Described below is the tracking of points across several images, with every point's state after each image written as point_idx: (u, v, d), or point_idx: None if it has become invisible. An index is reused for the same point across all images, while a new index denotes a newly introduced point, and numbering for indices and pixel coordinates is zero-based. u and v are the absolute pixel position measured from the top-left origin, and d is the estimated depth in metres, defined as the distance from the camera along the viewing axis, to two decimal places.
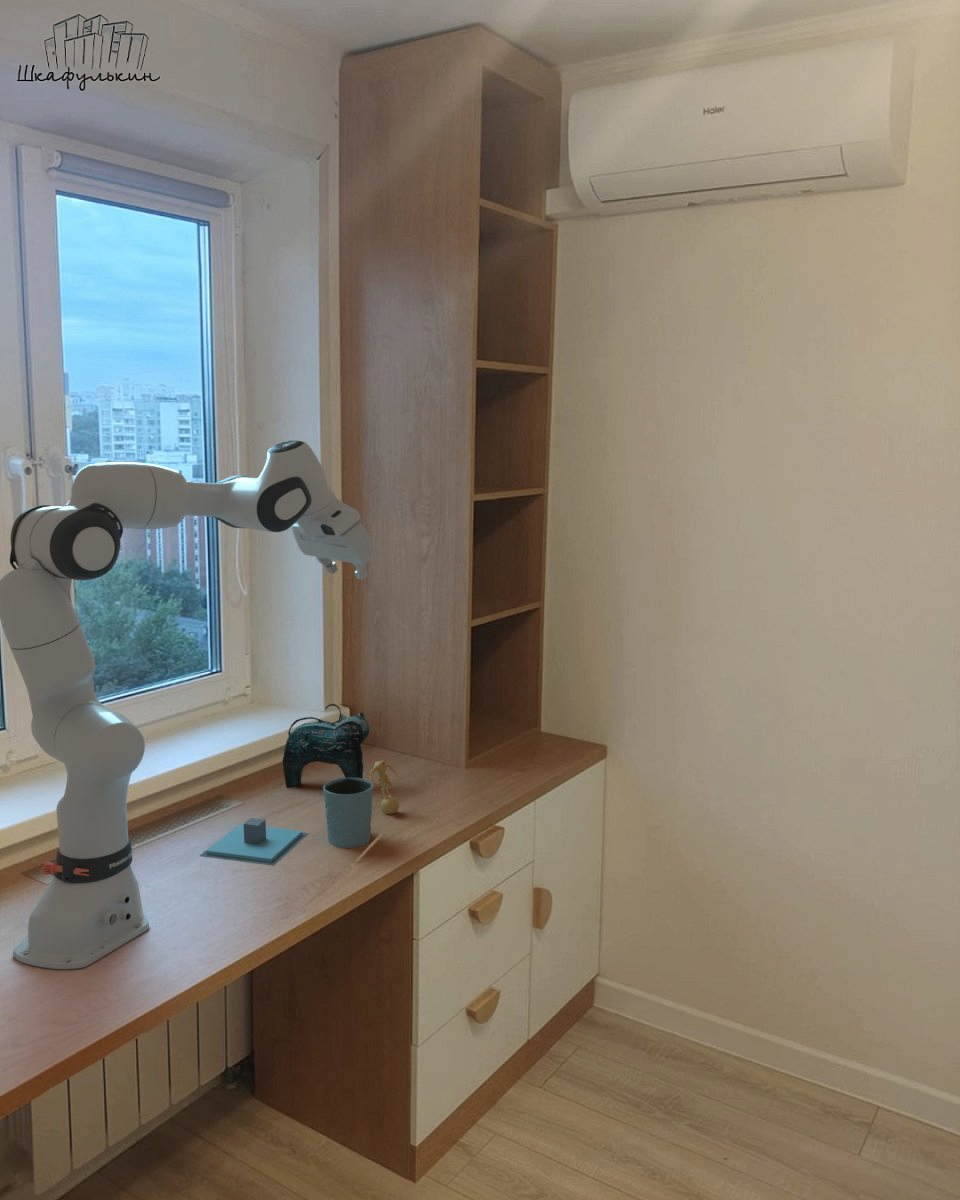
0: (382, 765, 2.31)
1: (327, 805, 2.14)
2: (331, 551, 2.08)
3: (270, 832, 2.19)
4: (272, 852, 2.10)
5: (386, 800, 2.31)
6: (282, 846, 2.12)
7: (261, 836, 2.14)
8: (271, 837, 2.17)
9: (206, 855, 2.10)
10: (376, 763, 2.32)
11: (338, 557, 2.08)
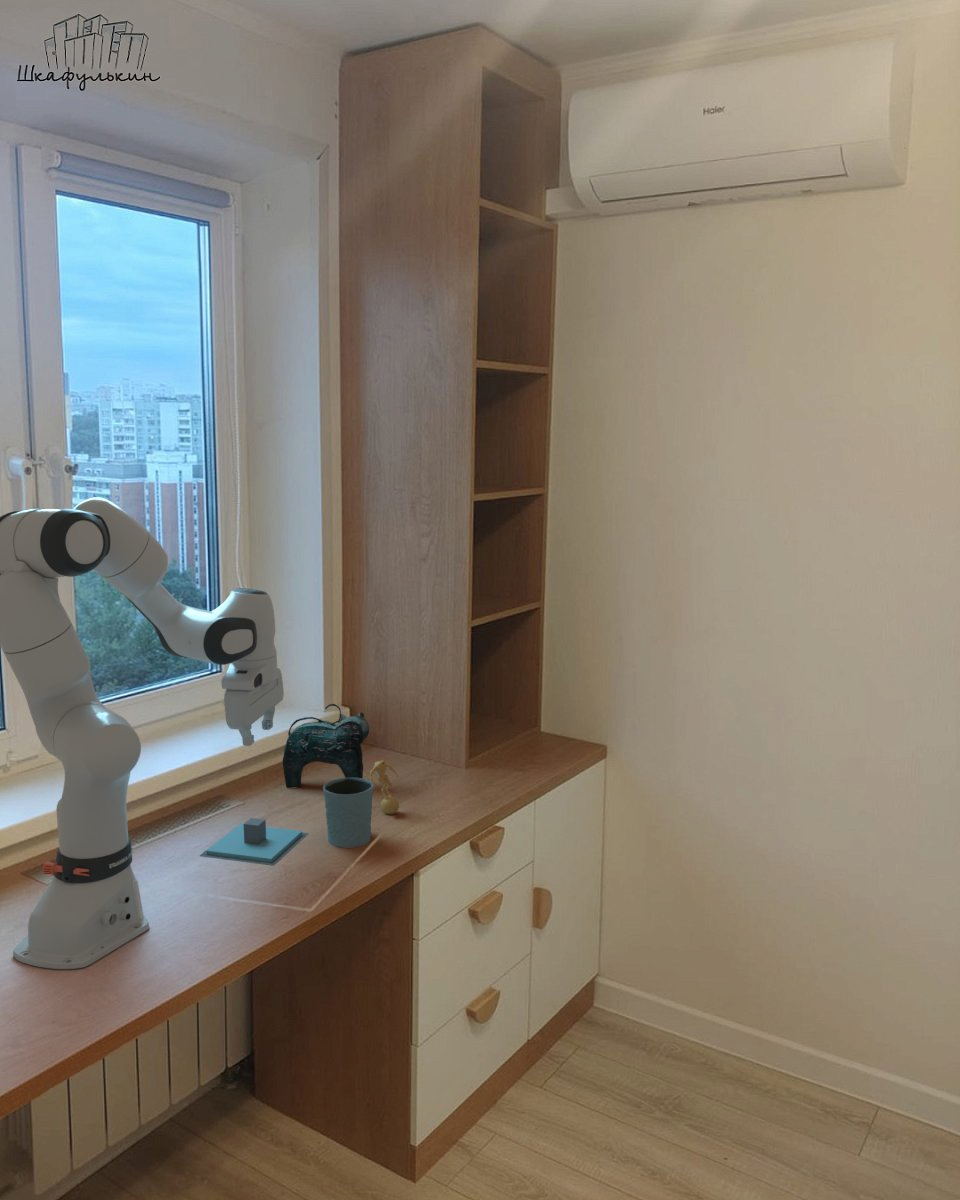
0: (382, 765, 2.31)
1: (327, 805, 2.14)
2: None
3: (270, 832, 2.19)
4: (272, 852, 2.10)
5: (386, 800, 2.31)
6: (282, 846, 2.12)
7: (261, 836, 2.14)
8: (271, 837, 2.17)
9: (206, 855, 2.10)
10: (376, 763, 2.32)
11: None
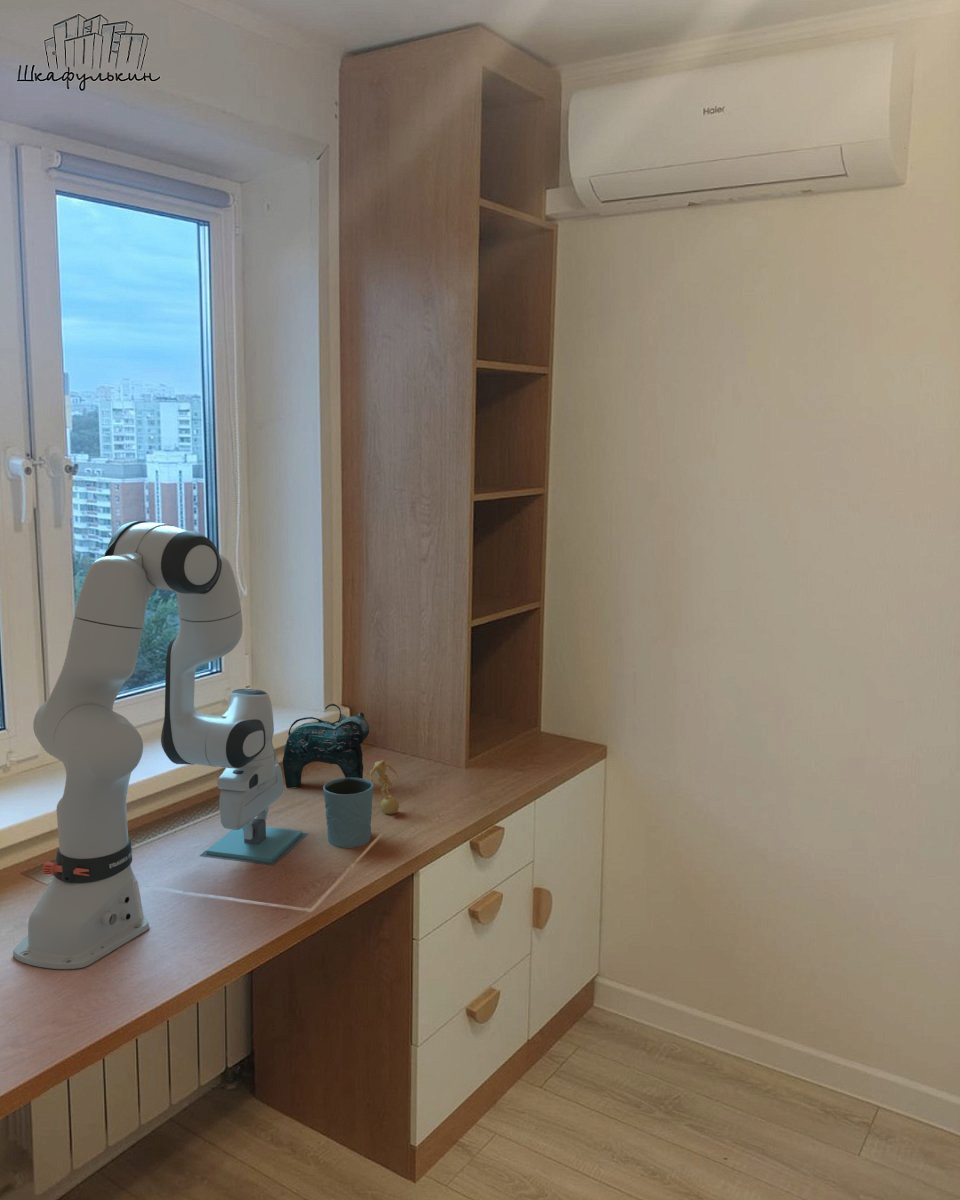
0: (382, 765, 2.31)
1: (327, 805, 2.14)
2: None
3: (270, 832, 2.19)
4: (272, 852, 2.10)
5: (386, 800, 2.31)
6: (282, 846, 2.12)
7: (261, 836, 2.14)
8: (271, 837, 2.17)
9: (206, 855, 2.10)
10: (376, 763, 2.32)
11: None
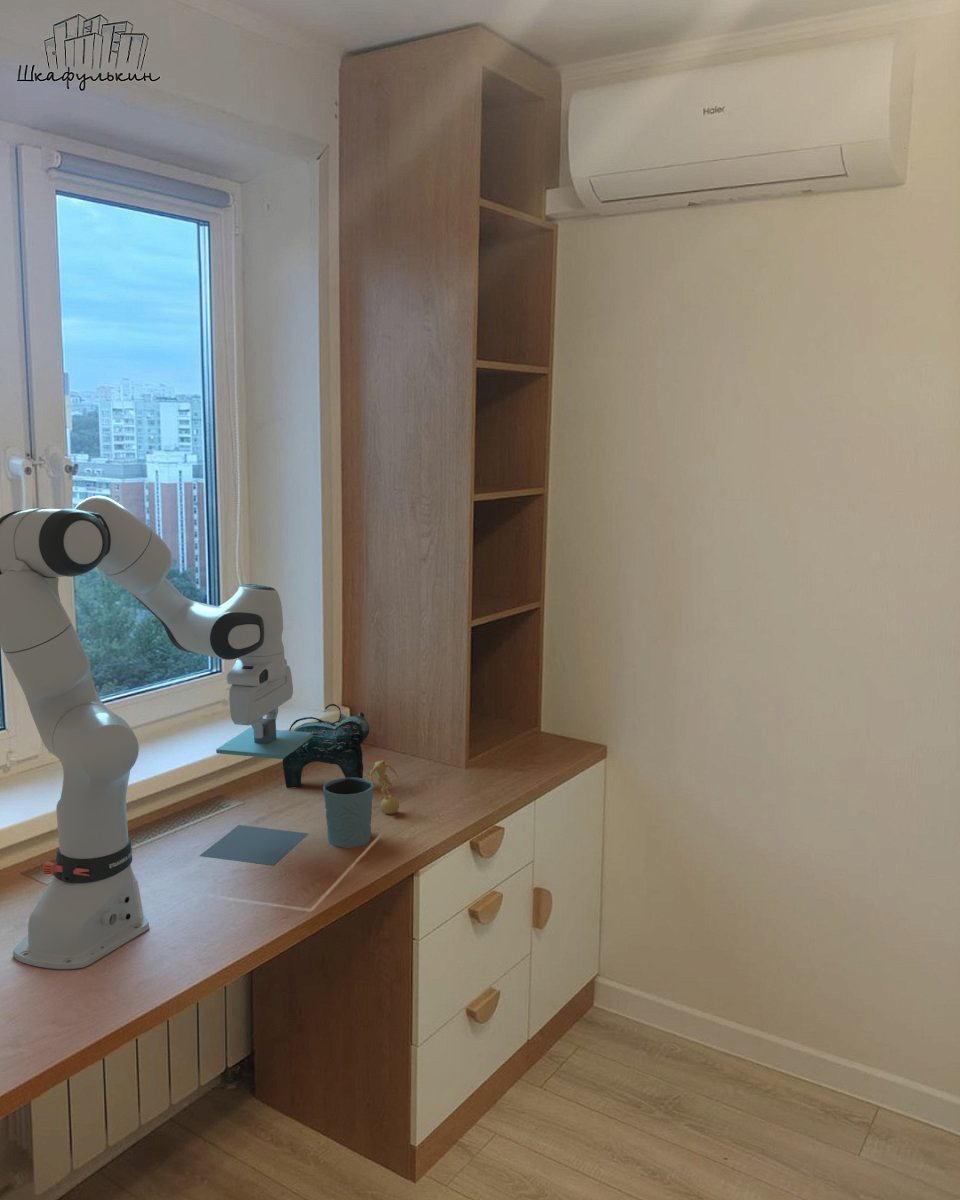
0: (382, 765, 2.31)
1: (327, 805, 2.14)
2: None
3: (280, 734, 2.16)
4: (283, 749, 2.07)
5: (386, 800, 2.31)
6: (293, 745, 2.09)
7: (271, 736, 2.11)
8: (281, 738, 2.14)
9: (206, 855, 2.10)
10: (376, 763, 2.32)
11: None
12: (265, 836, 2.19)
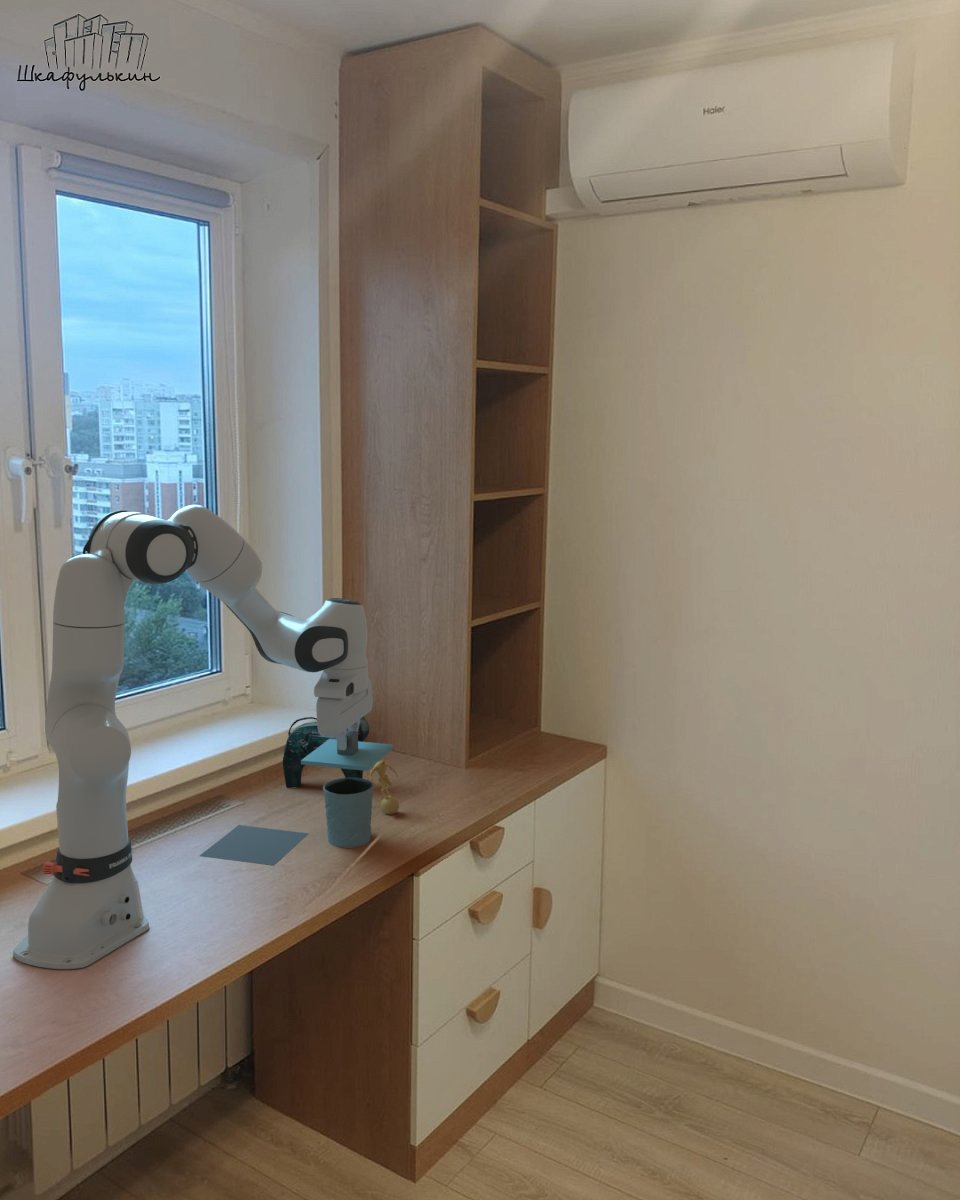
0: (382, 765, 2.31)
1: (327, 805, 2.14)
2: None
3: (361, 745, 2.19)
4: (367, 761, 2.10)
5: (386, 800, 2.31)
6: (376, 757, 2.12)
7: (354, 747, 2.14)
8: (363, 749, 2.17)
9: (206, 855, 2.10)
10: (376, 763, 2.32)
11: None
12: (265, 836, 2.19)
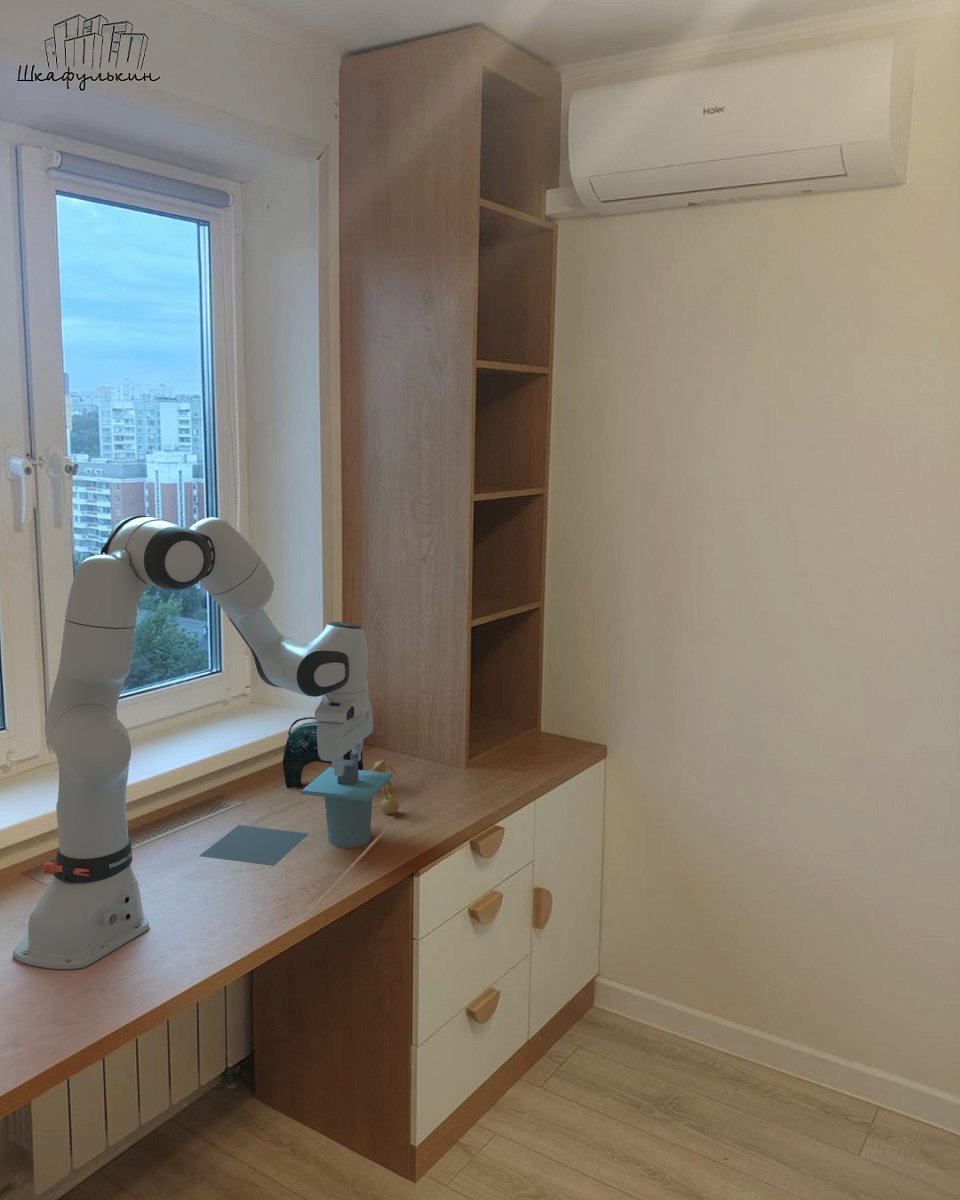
0: (382, 765, 2.31)
1: (327, 805, 2.14)
2: None
3: (361, 774, 2.20)
4: (368, 791, 2.11)
5: (386, 800, 2.31)
6: (376, 786, 2.13)
7: (354, 777, 2.15)
8: (363, 779, 2.18)
9: (206, 855, 2.10)
10: (376, 763, 2.32)
11: None
12: (265, 836, 2.19)
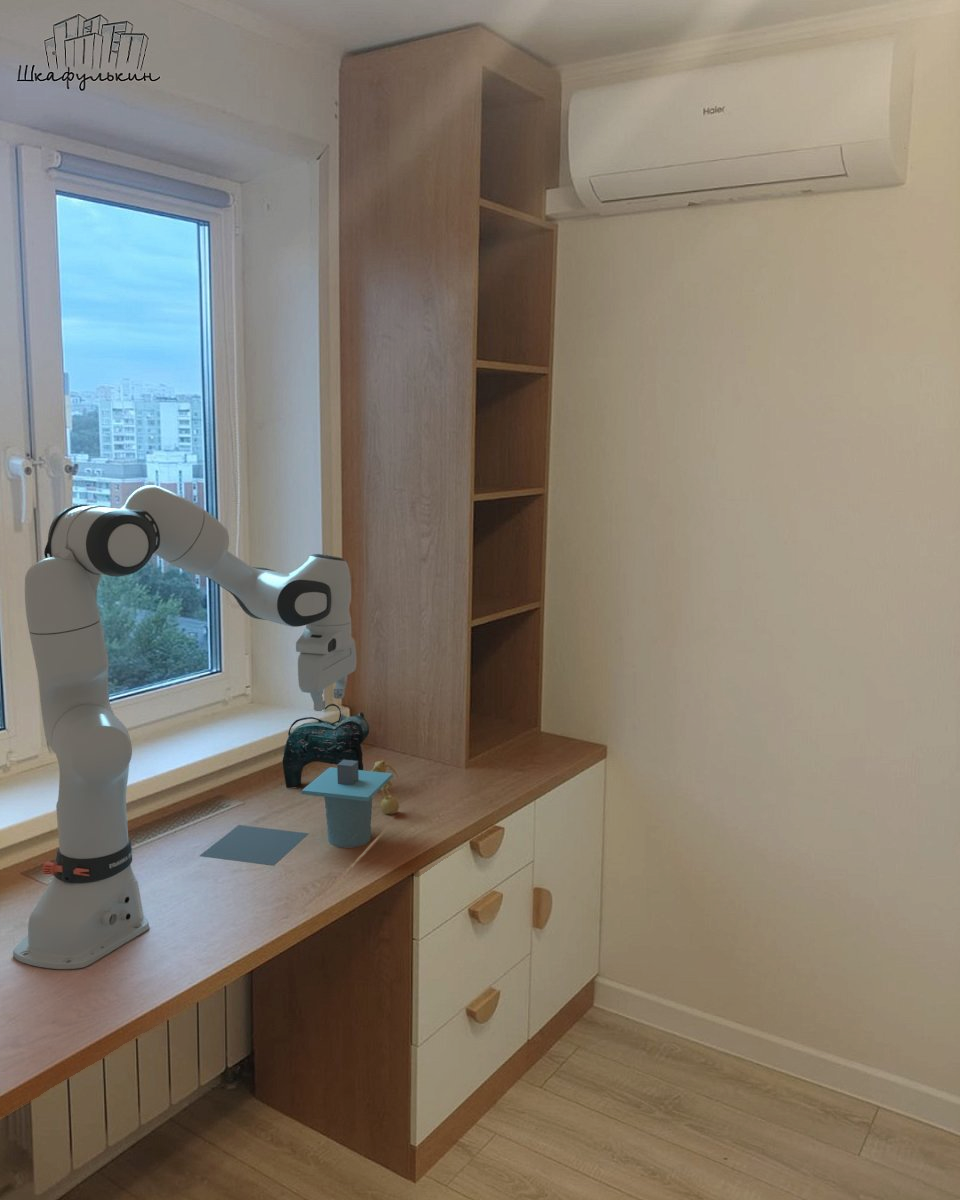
0: (382, 765, 2.31)
1: (327, 805, 2.14)
2: None
3: (361, 774, 2.20)
4: (368, 791, 2.11)
5: (386, 800, 2.31)
6: (376, 786, 2.13)
7: (354, 777, 2.15)
8: (363, 779, 2.18)
9: (206, 855, 2.10)
10: (376, 763, 2.32)
11: None
12: (265, 836, 2.19)
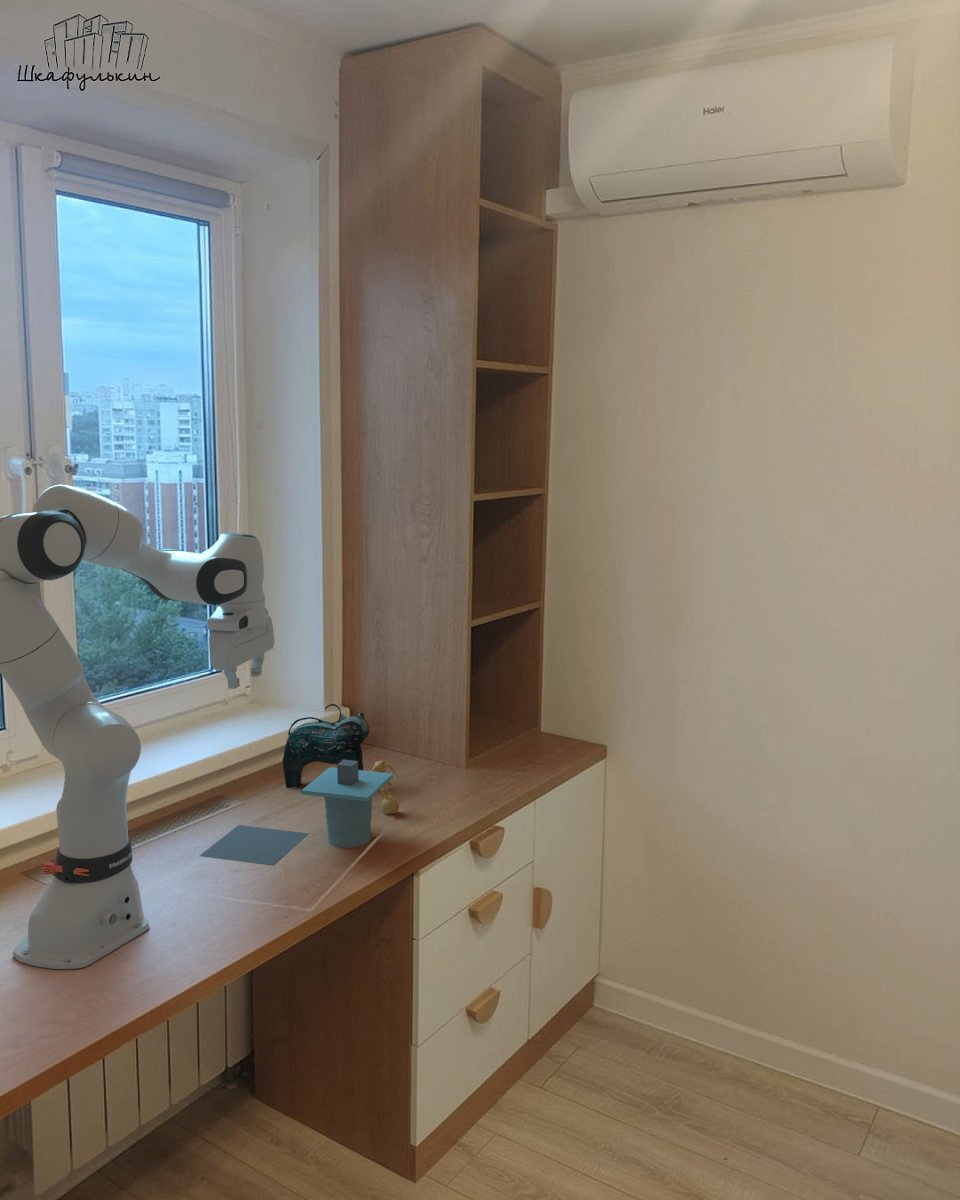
0: (382, 765, 2.31)
1: (327, 805, 2.14)
2: None
3: (361, 774, 2.20)
4: (367, 791, 2.11)
5: (386, 800, 2.31)
6: (376, 786, 2.13)
7: (354, 777, 2.15)
8: (363, 779, 2.18)
9: (206, 855, 2.10)
10: (376, 763, 2.32)
11: None
12: (265, 836, 2.19)
